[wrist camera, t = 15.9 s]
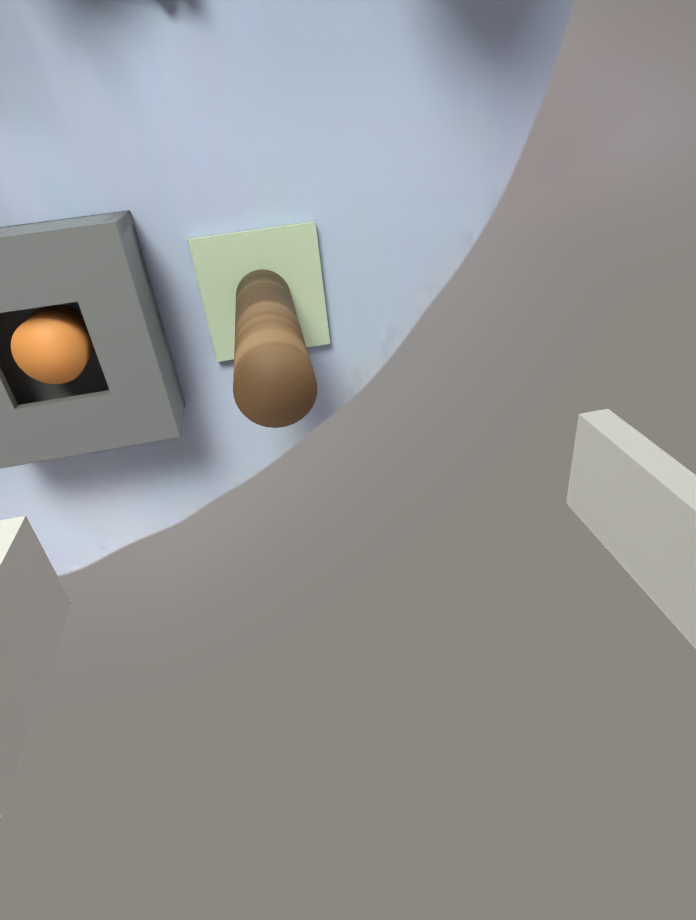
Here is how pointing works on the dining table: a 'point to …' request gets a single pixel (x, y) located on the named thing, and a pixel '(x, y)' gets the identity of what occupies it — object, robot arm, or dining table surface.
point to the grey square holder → (112, 333)
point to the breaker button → (52, 344)
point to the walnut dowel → (270, 353)
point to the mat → (266, 249)
